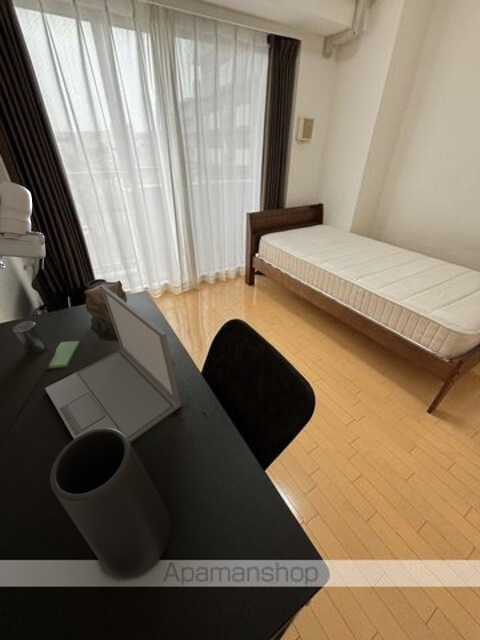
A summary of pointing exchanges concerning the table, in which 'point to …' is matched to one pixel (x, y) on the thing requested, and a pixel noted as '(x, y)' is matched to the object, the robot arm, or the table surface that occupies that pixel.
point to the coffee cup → (95, 283)
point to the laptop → (121, 380)
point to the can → (30, 338)
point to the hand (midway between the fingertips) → (14, 269)
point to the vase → (112, 501)
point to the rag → (63, 354)
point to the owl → (103, 309)
